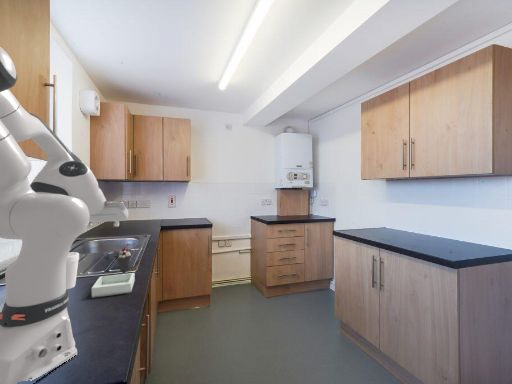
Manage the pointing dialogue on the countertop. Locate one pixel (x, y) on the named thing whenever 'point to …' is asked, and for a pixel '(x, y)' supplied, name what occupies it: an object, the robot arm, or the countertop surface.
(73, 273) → the foam cup
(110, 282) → the bin
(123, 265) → the sundae
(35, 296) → the robot arm
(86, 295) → the countertop surface
